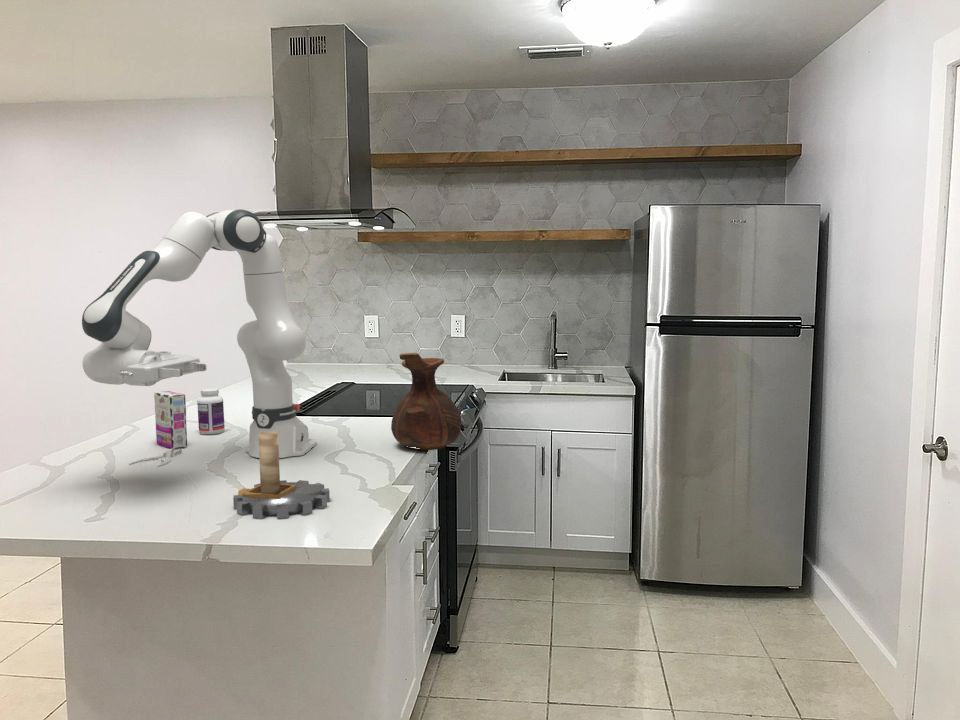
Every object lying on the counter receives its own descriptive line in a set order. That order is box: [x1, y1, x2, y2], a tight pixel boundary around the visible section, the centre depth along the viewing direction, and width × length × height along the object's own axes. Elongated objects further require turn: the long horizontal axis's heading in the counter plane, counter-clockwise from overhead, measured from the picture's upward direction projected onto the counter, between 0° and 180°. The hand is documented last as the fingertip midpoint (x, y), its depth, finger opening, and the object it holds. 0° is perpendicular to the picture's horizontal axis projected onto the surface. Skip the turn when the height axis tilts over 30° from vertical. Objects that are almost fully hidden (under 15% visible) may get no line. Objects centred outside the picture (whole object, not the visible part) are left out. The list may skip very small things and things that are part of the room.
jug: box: [390, 352, 462, 451], centre depth 235 cm, size 22×22×30 cm
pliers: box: [128, 448, 183, 468], centre depth 221 cm, size 10×2×15 cm
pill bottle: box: [197, 387, 226, 436], centre depth 254 cm, size 8×8×14 cm
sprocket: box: [232, 479, 331, 520], centre depth 181 cm, size 22×22×3 cm
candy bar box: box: [153, 390, 188, 451], centre depth 236 cm, size 11×5×16 cm, turn 47°
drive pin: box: [258, 432, 281, 495], centre depth 180 cm, size 4×4×14 cm
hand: (193, 370), depth 187 cm, fingers open, 8 cm apart
